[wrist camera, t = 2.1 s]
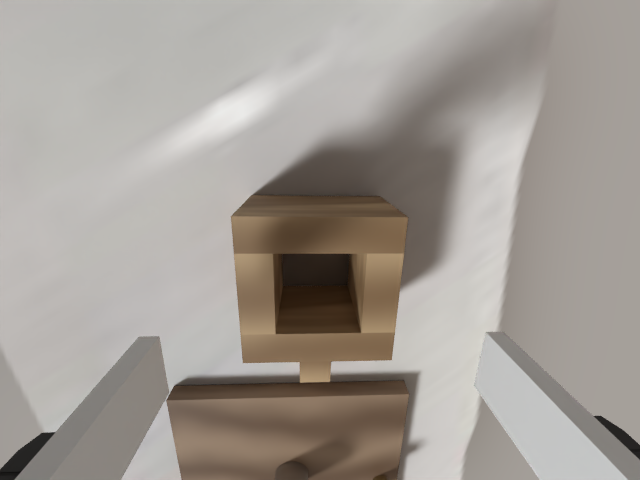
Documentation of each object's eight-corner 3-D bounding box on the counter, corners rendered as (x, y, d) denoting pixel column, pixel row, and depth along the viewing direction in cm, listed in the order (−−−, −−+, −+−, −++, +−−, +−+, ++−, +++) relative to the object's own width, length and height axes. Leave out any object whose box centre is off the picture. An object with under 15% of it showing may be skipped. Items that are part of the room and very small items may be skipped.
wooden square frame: (251, 195, 20) (231, 216, 15) (380, 196, 21) (408, 217, 15) (261, 365, 25) (248, 431, 19) (366, 362, 26) (383, 426, 20)
